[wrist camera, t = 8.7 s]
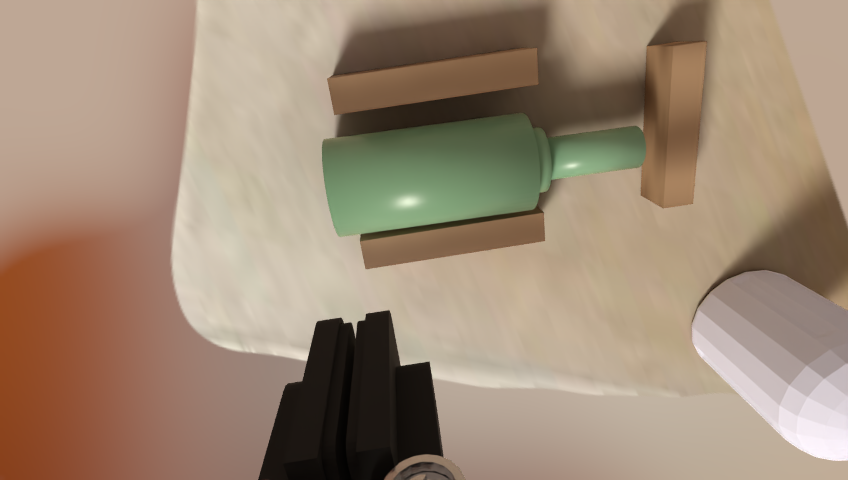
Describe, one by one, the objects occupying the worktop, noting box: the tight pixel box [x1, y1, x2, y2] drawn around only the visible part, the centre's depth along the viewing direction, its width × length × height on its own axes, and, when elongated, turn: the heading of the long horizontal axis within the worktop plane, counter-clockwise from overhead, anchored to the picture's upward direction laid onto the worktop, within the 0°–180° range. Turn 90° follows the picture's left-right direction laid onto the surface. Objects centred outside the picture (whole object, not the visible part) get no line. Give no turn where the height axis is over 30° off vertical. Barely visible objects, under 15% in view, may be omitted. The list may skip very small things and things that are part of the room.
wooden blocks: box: [327, 41, 707, 269], centre depth 31 cm, size 12×22×3 cm, turn 98°
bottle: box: [322, 113, 646, 237], centre depth 30 cm, size 6×6×19 cm
